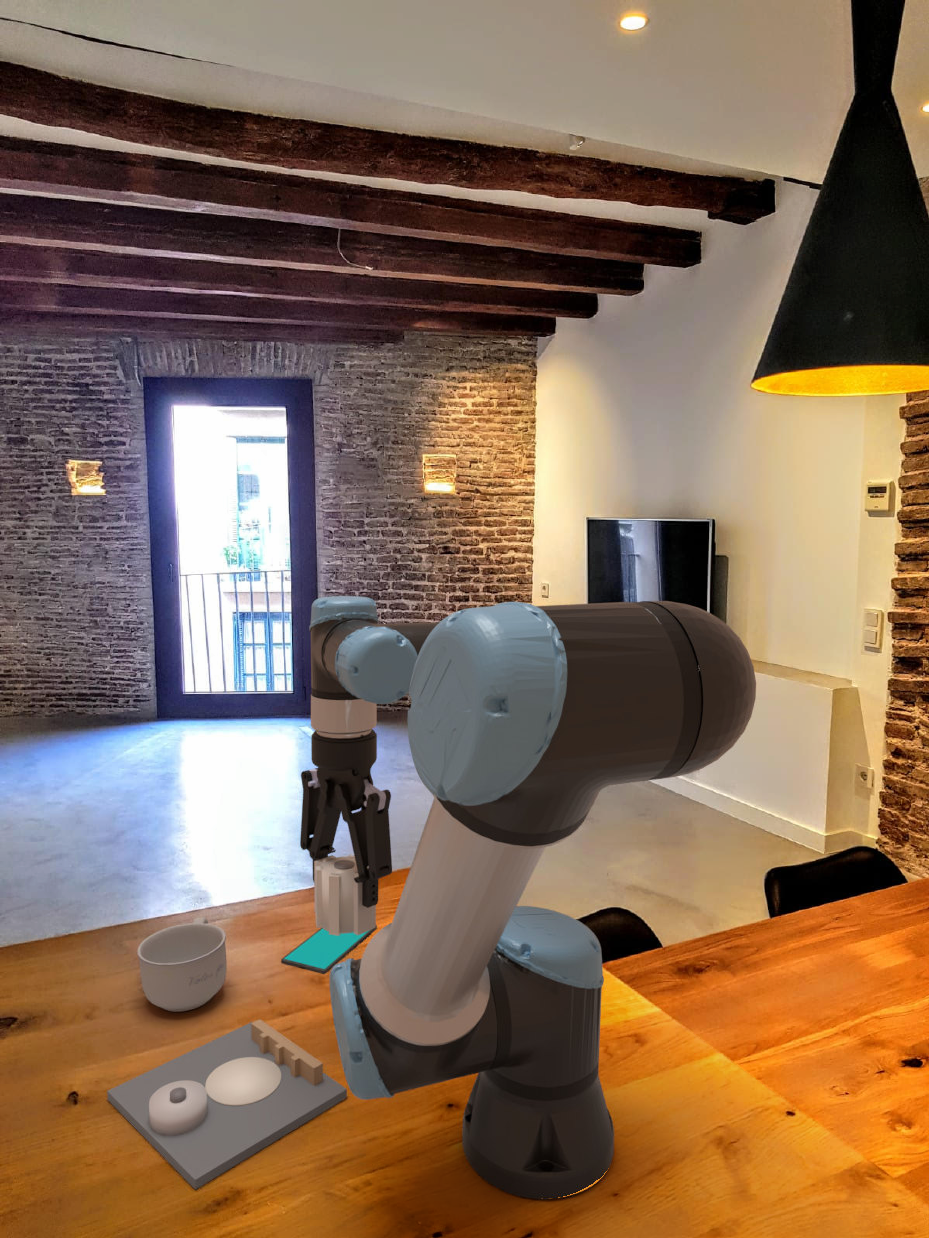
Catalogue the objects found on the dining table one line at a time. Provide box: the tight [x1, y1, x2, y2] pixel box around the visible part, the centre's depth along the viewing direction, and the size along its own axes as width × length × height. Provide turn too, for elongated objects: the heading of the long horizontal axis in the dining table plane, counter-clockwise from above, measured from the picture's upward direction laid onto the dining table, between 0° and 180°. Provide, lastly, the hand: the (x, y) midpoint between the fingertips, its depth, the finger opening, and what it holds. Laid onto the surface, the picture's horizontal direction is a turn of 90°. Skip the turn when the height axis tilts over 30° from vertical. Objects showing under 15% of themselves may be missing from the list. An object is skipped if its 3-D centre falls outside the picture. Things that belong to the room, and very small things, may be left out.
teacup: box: [136, 916, 228, 1013], centre depth 114 cm, size 14×11×8 cm
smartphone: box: [280, 924, 378, 975], centre depth 127 cm, size 7×1×15 cm
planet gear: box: [315, 854, 369, 936], centre depth 103 cm, size 7×6×7 cm
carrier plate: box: [106, 1018, 348, 1190], centre depth 93 cm, size 18×18×4 cm
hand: (344, 919), depth 103 cm, fingers closed on planet gear, 7 cm apart
